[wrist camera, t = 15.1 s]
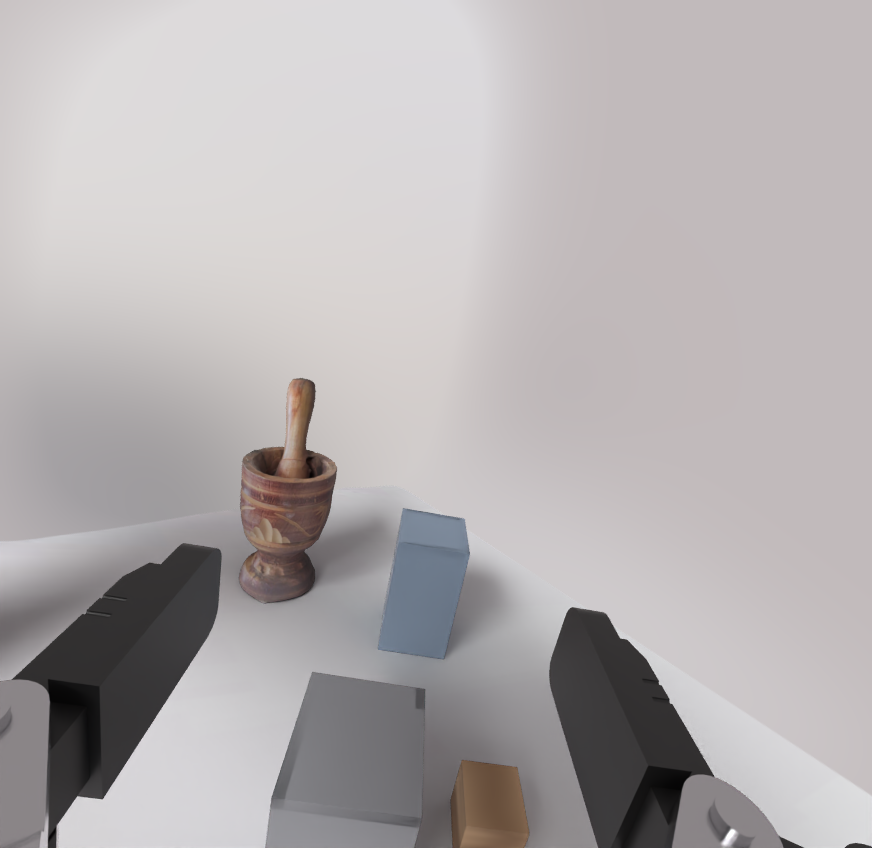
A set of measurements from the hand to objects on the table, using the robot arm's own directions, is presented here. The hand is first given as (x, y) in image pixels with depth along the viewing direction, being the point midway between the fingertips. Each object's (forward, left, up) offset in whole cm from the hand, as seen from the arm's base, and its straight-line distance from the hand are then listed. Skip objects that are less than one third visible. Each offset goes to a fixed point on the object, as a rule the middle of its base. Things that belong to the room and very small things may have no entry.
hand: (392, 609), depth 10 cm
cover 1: (-3, +6, -24) cm, 25 cm away
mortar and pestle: (-25, +23, -24) cm, 42 cm away
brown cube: (+3, +13, -24) cm, 27 cm away
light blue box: (-9, +25, -24) cm, 36 cm away
